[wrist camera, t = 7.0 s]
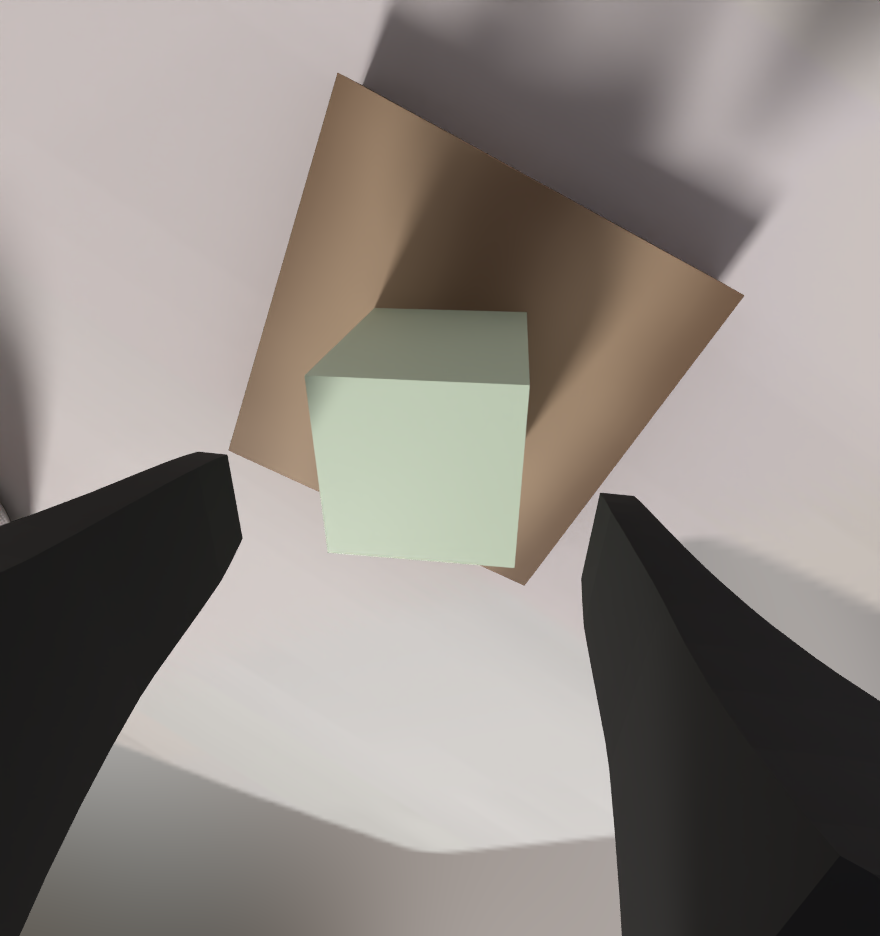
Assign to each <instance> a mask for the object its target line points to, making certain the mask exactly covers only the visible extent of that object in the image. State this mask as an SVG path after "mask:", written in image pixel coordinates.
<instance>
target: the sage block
mask: <svg viewBox="0 0 880 936" xmlns="http://www.w3.org/2000/svg"><path fill="white" fill-rule="evenodd" d="M304 376H305V384H306V391H307V399H308V406H309V414H310V422H311V429H312V437H313V444H314V452H315V459H316V467H317V475H318V482H319V490H320V497H321V505H322V512H323V520H324V528H325V535H326V543H327V550H328V553H337V554H350V555H362V556H374V557H386V558H398V559H410V560H423V561H435V562H447V563H459V564H471V565H483V566H495V567H508V568H514V567H515V556H516V544H517V532H518V520H519V508H520V496H521V484H522V472H523V460H524V448H525V436H526V424H527V412H528V400H529V388H530V379H529V355H528V331H527V312H502V311H466V310H430V309H394V308H374V309H373V310H372V311H371V312H370V313H369V314H368V315H367V316H366V317H365V318H364V319H362V320H361V321H360V322H359V323H358V324H357V325H356V326H355V327H354V328H353V329H352V330H351V331H350V332H349V333H348V334H347V335H346V336H345V337H344V338H343V339H342V340H341V341H340V342H339V343H338V344H337V345H336V346H335V347H333V348H332V349H331V350H330V351H329V352H328V353H327V354H326V355H325V356H324V357H323V358H322V359H321V360H320V361H319V362H318V363H317V364H316V365H315V366H314V367H313V368H312V369H311V370H310V371H309V372H308V373H307V374H305V375H304Z"/></svg>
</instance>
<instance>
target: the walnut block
mask: <svg viewBox="0 0 880 936" xmlns="http://www.w3.org/2000/svg"><path fill="white" fill-rule="evenodd" d="M743 297H744V295H743V294H741V293H739V292H737V291H736V290H734V289H732V288H730V287H729V286H727V285H725V284H723V283H722V282H720V281H718V280H716V279H715V278H713V277H711V276H709V275H707V274H706V273H704V272H702V271H700V270H698V269H696V268H695V267H693V266H691V265H689V264H687V263H685V262H684V261H682V260H680V259H678V258H676V257H675V256H673V255H671V254H669V253H667V252H665V251H664V250H662V249H660V248H658V247H656V246H654V245H653V244H651V243H649V242H647V241H645V240H644V239H642V238H640V237H638V236H636V235H634V234H633V233H631V232H629V231H627V230H625V229H623V228H622V227H620V226H618V225H616V224H614V223H613V222H611V221H609V220H607V219H605V218H603V217H602V216H600V215H598V214H596V213H594V212H592V211H591V210H589V209H587V208H585V207H583V206H581V205H580V204H578V203H576V202H574V201H572V200H571V199H569V198H567V197H565V196H563V195H561V194H560V193H558V192H556V191H554V190H552V189H550V188H549V187H547V186H545V185H543V184H541V183H540V182H538V181H536V180H534V179H532V178H530V177H529V176H527V175H525V174H523V173H521V172H519V171H518V170H516V169H514V168H512V167H510V166H509V165H507V164H505V163H503V162H501V161H499V160H498V159H496V158H494V157H492V156H490V155H488V154H487V153H485V152H483V151H481V150H479V149H478V148H476V147H474V146H472V145H470V144H468V143H467V142H465V141H463V140H461V139H459V138H457V137H456V136H454V135H452V134H450V133H448V132H447V131H445V130H443V129H441V128H439V127H437V126H436V125H434V124H432V123H430V122H428V121H426V120H425V119H423V118H421V117H419V116H417V115H416V114H414V113H412V112H410V111H408V110H406V109H405V108H403V107H401V106H399V105H397V104H395V103H394V102H392V101H390V100H388V99H386V98H385V97H383V96H381V95H379V94H377V93H375V92H374V91H372V90H370V89H368V88H366V87H364V86H363V85H361V84H359V83H357V82H355V81H353V80H351V79H349V78H347V77H345V76H343V75H341V74H339V73H337V77H336V80H335V84H334V87H333V90H332V94H331V97H330V101H329V104H328V108H327V111H326V115H325V118H324V122H323V125H322V129H321V132H320V135H319V139H318V142H317V146H316V149H315V153H314V156H313V160H312V163H311V167H310V170H309V174H308V177H307V180H306V184H305V187H304V191H303V194H302V198H301V201H300V205H299V208H298V212H297V215H296V219H295V222H294V225H293V229H292V232H291V236H290V239H289V243H288V246H287V250H286V253H285V257H284V260H283V263H282V267H281V270H280V274H279V277H278V281H277V284H276V288H275V291H274V295H273V298H272V302H271V305H270V308H269V312H268V315H267V319H266V322H265V326H264V329H263V333H262V336H261V340H260V343H259V347H258V350H257V353H256V357H255V360H254V364H253V367H252V371H251V374H250V378H249V381H248V385H247V388H246V391H245V395H244V398H243V402H242V405H241V409H240V412H239V416H238V419H237V423H236V426H235V430H234V433H233V436H232V440H231V443H230V447H229V451H231V452H233V453H235V454H237V455H240V456H242V457H244V458H246V459H248V460H251V461H253V462H255V463H257V464H259V465H262V466H264V467H266V468H268V469H270V470H273V471H275V472H277V473H279V474H281V475H283V476H286V477H288V478H290V479H292V480H294V481H297V482H299V483H301V484H303V485H305V486H308V487H310V488H312V489H314V490H316V491H318V492H320V490H319V482H318V475H317V467H316V459H315V452H314V444H313V437H312V429H311V422H310V414H309V406H308V399H307V391H306V384H305V376H304V375H305V374H307V373H308V372H309V371H310V370H311V369H312V368H313V367H314V366H315V365H316V364H317V363H318V362H319V361H320V360H321V359H322V358H323V357H324V356H325V355H326V354H327V353H328V352H329V351H330V350H331V349H332V348H333V347H335V346H336V345H337V344H338V343H339V342H340V341H341V340H342V339H343V338H344V337H345V336H346V335H347V334H348V333H349V332H350V331H351V330H352V329H353V328H354V327H355V326H356V325H357V324H358V323H359V322H360V321H361V320H362V319H364V318H365V317H366V316H367V315H368V314H369V313H370V312H371V311H372V310H373V309H374V308H394V309H430V310H466V311H502V312H527V331H528V355H529V379H530V388H529V400H528V412H527V424H526V436H525V448H524V460H523V472H522V484H521V496H520V508H519V520H518V532H517V544H516V556H515V567H514V568H508V567H495V566H483V565H480V566H483V567H485V568H487V569H489V570H491V571H493V572H496V573H498V574H500V575H502V576H504V577H507V578H509V579H511V580H513V581H515V582H518V583H520V584H522V585H524V586H525V584H526V583H527V582H528V580H529V579H530V578H531V576H532V575H533V574H534V572H535V571H536V570H537V568H538V567H539V566H540V564H541V563H542V562H543V560H544V559H545V558H546V557H547V555H548V554H549V553H550V551H551V550H552V549H553V547H554V546H555V545H556V543H557V542H558V541H559V539H560V538H561V537H562V535H563V534H564V533H565V531H566V530H567V529H568V528H569V526H570V525H571V524H572V522H573V521H574V520H575V518H576V517H577V516H578V514H579V513H580V512H581V510H582V509H583V508H584V506H585V505H586V504H587V502H588V501H589V500H590V499H591V497H592V496H593V495H594V493H595V492H596V491H597V489H598V488H599V487H600V485H601V484H602V483H603V481H604V480H605V479H606V477H607V476H608V475H609V473H610V472H611V471H612V469H613V468H614V467H615V466H616V464H617V463H618V462H619V460H620V459H621V458H622V456H623V455H624V454H625V452H626V451H627V450H628V448H629V447H630V446H631V444H632V443H633V442H634V440H635V439H636V438H637V437H638V435H639V434H640V433H641V431H642V430H643V429H644V427H645V426H646V425H647V423H648V422H649V421H650V419H651V418H652V417H653V415H654V414H655V413H656V411H657V410H658V409H659V407H660V406H661V405H662V404H663V402H664V401H665V400H666V398H667V397H668V396H669V394H670V393H671V392H672V390H673V389H674V388H675V386H676V385H677V384H678V382H679V381H680V380H681V378H682V377H683V376H684V375H685V373H686V372H687V371H688V369H689V368H690V367H691V365H692V364H693V363H694V361H695V360H696V359H697V357H698V356H699V355H700V353H701V352H702V351H703V349H704V348H705V347H706V345H707V344H708V343H709V342H710V340H711V339H712V338H713V336H714V335H715V334H716V332H717V331H718V330H719V328H720V327H721V326H722V324H723V323H724V322H725V320H726V319H727V318H728V316H729V315H730V314H731V313H732V311H733V310H734V309H735V307H736V306H737V305H738V303H739V302H740V301H741V299H742V298H743Z"/></svg>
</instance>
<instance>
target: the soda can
mask: <svg viewBox="0 0 880 936" xmlns="http://www.w3.org/2000/svg"><path fill="white" fill-rule="evenodd" d="M7 523H10V520H9V517H8V515H7V513H6V511H5V509H4V508H3V506H2V505H1V504H0V525H3V524H7Z"/></svg>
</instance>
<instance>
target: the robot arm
mask: <svg viewBox="0 0 880 936" xmlns="http://www.w3.org/2000/svg"><path fill="white" fill-rule="evenodd" d="M241 541H242V533H241V528H240V522H239V516H238V511H237V505H236V500H235V494H234V489H233V483H232V478H231V472H230V467H229V461H228V456H227V455H225V454H215V453H205V452H196V453H192V454H188V455H185V456H182V457H179V458H176V459H174V460H171V461H168V462H165V463H163V464H160V465H158V466H155V467H153V468H150V469H148V470H145V471H143V472H140V473H138V474H135V475H133V476H130V477H128V478H125V479H123V480H120V481H118V482H116V483H113V484H111V485H108V486H106V487H103V488H101V489H98V490H96V491H93V492H91V493H88V494H86V495H83V496H80V497H78V498H75V499H72V500H70V501H67V502H64V503H62V504H59V505H56V506H54V507H51V508H48V509H46V510H43V511H40V512H38V513H35V514H32V515H30V516H27V517H24V518H21V519H18V520H15V521H13V522H10V523H7V524H3V525H0V936H19V935H20V933H21V931H22V929H23V927H24V924H25V922H26V920H27V917H28V915H29V913H30V911H31V909H32V906H33V904H34V902H35V900H36V898H37V895H38V893H39V891H40V889H41V886H42V884H43V882H44V879H45V877H46V875H47V873H48V871H49V869H50V867H51V865H52V863H53V861H54V859H55V857H56V855H57V853H58V851H59V849H60V847H61V845H62V843H63V840H64V838H65V836H66V834H67V832H68V830H69V828H70V826H71V824H72V822H73V820H74V818H75V816H76V814H77V812H78V810H79V808H80V806H81V804H82V802H83V800H84V798H85V796H86V794H87V793H88V791H89V789H90V787H91V785H92V783H93V781H94V779H95V777H96V776H97V773H98V772H99V770H100V768H101V766H102V764H103V762H104V761H105V759H106V756H107V755H108V753H109V751H110V749H111V747H112V746H113V744H114V742H115V740H116V739H117V737H118V735H119V733H120V732H121V730H122V728H123V726H124V725H125V723H126V721H127V719H128V718H129V716H130V714H131V712H132V711H133V709H134V707H135V705H136V704H137V702H138V700H139V698H140V697H141V695H142V694H143V692H144V691H145V689H146V688H147V686H148V684H149V683H150V681H151V680H152V678H153V677H154V675H155V674H156V672H157V671H158V670H159V668H160V667H161V665H162V664H163V663H164V661H165V660H166V658H167V657H168V656H169V654H170V653H171V651H172V650H173V649H174V647H175V646H176V644H177V643H178V642H179V640H180V639H181V637H182V636H183V635H184V633H185V632H186V630H187V629H188V628H189V626H190V625H191V623H192V622H193V621H194V619H195V618H196V616H197V615H198V614H199V612H200V611H201V609H202V608H203V606H204V605H205V603H206V602H207V601H208V599H209V598H210V596H211V595H212V593H213V592H214V591H215V589H216V588H217V586H218V585H219V583H220V582H221V580H222V578H223V576H224V575H225V573H226V571H227V569H228V567H229V565H230V563H231V561H232V559H233V557H234V555H235V553H236V551H237V549H238V547H239V545H240V543H241ZM581 582H582V604H583V620H584V630H585V635H586V641H587V646H588V652H589V657H590V663H591V668H592V673H593V679H594V684H595V689H596V694H597V700H598V705H599V710H600V716H601V721H602V726H603V731H604V737H605V742H606V749H607V756H608V763H609V771H610V782H611V794H612V805H613V816H614V828H615V840H616V854H617V868H618V881H619V895H620V909H621V910H620V911H621V928H622V936H880V701H879V700H877V699H876V698H874V697H873V696H871V695H870V694H868V693H867V692H865V691H864V690H862V689H861V688H859V687H858V686H856V685H854V684H853V683H851V682H850V681H848V680H847V679H845V678H844V677H842V676H841V675H839V674H838V673H836V672H835V671H833V670H832V669H831V668H829V667H828V666H826V665H825V664H824V663H822V662H821V661H819V660H818V659H816V658H815V657H814V656H812V655H811V654H809V653H808V652H807V651H805V650H804V649H803V648H801V647H800V646H799V645H797V644H796V643H795V642H793V641H792V640H791V639H790V638H788V637H787V636H786V635H784V634H783V633H781V632H780V631H779V630H778V629H776V628H775V627H774V626H772V625H771V624H770V623H769V622H767V621H766V620H765V619H764V618H762V617H761V616H760V615H759V614H757V613H756V612H755V611H754V610H753V609H751V608H750V607H749V606H748V605H747V604H746V603H744V602H743V601H742V600H741V599H740V598H739V597H738V596H736V595H735V594H734V593H733V592H732V591H731V590H730V589H728V588H727V587H726V586H725V585H724V584H723V583H722V582H720V581H719V580H718V579H717V578H716V577H715V576H714V575H713V574H712V573H711V572H710V571H709V570H708V569H706V568H705V567H704V566H703V565H702V564H701V563H700V562H699V561H698V560H697V559H696V558H695V557H694V556H693V555H692V554H691V553H690V552H689V551H688V550H687V549H686V548H685V547H684V546H683V545H682V544H681V543H680V542H679V541H678V540H677V539H676V538H675V537H674V536H673V535H672V534H671V533H670V532H669V531H668V530H667V529H666V528H665V527H664V526H663V525H662V524H661V523H660V521H659V520H658V519H657V518H656V517H655V516H654V515H653V514H652V513H651V512H650V511H649V510H648V509H647V508H646V507H645V506H644V505H643V504H642V503H641V502H640V501H639V500H638V499H637V498H636V497H635V496H627V495H617V494H608V493H600V496H599V500H598V505H597V510H596V514H595V519H594V523H593V528H592V532H591V537H590V541H589V546H588V551H587V555H586V560H585V564H584V569H583V573H582V578H581Z"/></svg>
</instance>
